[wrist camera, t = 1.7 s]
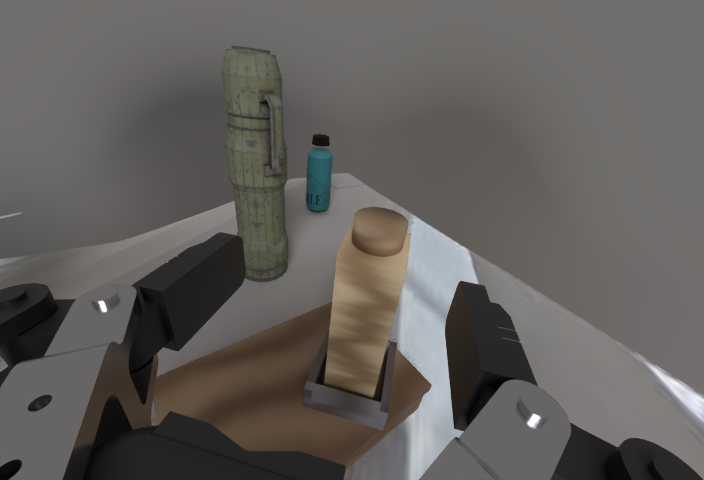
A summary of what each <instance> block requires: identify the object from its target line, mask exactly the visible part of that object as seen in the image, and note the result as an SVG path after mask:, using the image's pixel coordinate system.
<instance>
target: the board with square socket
mask: <svg viewBox="0 0 704 480" xmlns="http://www.w3.org/2000/svg"><path fill="white" fill-rule="evenodd" d="M331 310H332V302H331V303H329V304H326V305H324V306H322V307H319V308H317V309H315V310H312V311H310V312H308V313H305V314H303V315H301V316H298V317H296V318H294V319H291V320H289V321H287V322H284V323H282V324H280V325H277V326H275V327H272V328H270V329H268V330H265V331H263V332H261V333H258V334H256V335H254V336H251V337H249V338H247V339H244V340H242V341H240V342H237V343H235V344H233V345H230V346H228V347H226V348H223V349H221V350H219V351H216V352H214V353H212V354H209V355H207V356H204V357H202V358H200V359H197V360H195V361H193V362H190V363H188V364H186V365H183V366H181V367H179V368H176V369H174V370H172V371H169V372H167V373H165V374H162V375H160V376H158V377H156V381H155V388H154V395H153V399H154V404H155V410H156V416H157V422H158V425H159V424H160V423H161V422H162V420H163V419H164V418H165V417H166V415H167V414H168V413H169V412H170V411H172V412H175V413H178V414H181V415H185V416H188V417H191V418H194V419H198V420H201V421H204V422H207V423H210V424H212V425H213V426H214V427H216V428H217V429H218V430H219V431H221V432H222V433H223V434H225V435H226V436H227V437H229V438H230V439H231V440H233V441H234V442H235V443H237V444H238V445H239V446H241V447H242V448H243V449H245V450H248V451H300V452H304V453H307V454H310V455H313V456H316V457H320V458H323V459H326V460H329V461H333V462H336V463H339V464H342V465H345V466H346V469H347V468H348V467H349V466H351V465H352V464H353V463H354V462H355V461H357V460H358V459H359V458H360V457H361V456H362V455H364V454H365V453H366V452H367V451H368V450H369V449H371V448H372V447H373V446H374V445H375V444H377V443H378V442H379V441H380V440H381V439H382V438H384V437H385V436H386V435H387V434H388V433H390V432H391V431H392V430H393V429H394V428H395V427H397V426H398V425H399V424H400V423H401V422H402V421H404V420H405V419H406V418H407V417H408V416H410V415H411V414H412V413H413V412H414V411H415V410H417V409H418V407H419V404H420V402H421V400H422V397H423V395H424V394H425V393H427V392H428V391H429V390H430V388H431V384H430V383H429V382H428V381H427V380H426V379H425V378H424V377H423V376H422V374H421V373H420V372H419V371H418V370H417V369H416V368H415V367H414V366H413V365H412V364H411V363H410V362H409V361H408V360H407V359H406V358H405V357H404V356H403V355H402V354H401V353H400V352H399V351H398V350H397V349H396V346H397V343H394V342H391V341H389V340H388V343H387V347H386V350H385V354H384V358H383V362H382V366H381V370H380V373H379V377H378V381H377V385H376V389H375V393H374V396H373V400H370V399H367V398H363V397H360V396H357V395H353V394H350V393H347V392H343V391H340V390H336V389H333V388H330V387H326V386H324V380H325V370H326V360H327V350H328V340H329V330H330V320H331Z"/></svg>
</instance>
